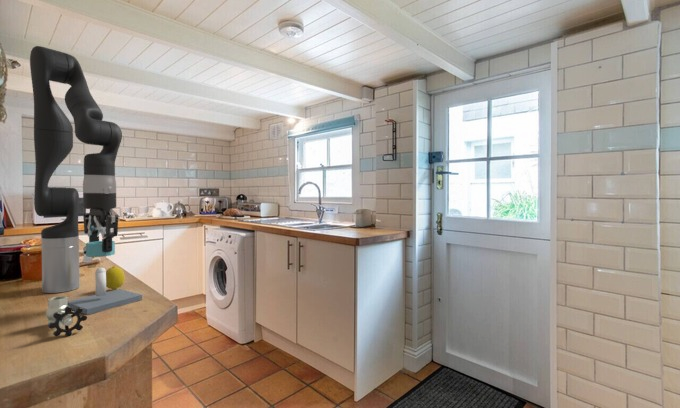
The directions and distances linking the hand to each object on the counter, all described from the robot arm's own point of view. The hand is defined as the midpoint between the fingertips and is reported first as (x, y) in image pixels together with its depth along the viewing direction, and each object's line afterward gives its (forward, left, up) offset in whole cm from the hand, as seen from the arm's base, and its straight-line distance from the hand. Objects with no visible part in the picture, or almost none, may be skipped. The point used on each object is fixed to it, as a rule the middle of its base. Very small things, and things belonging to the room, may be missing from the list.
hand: (100, 250), depth 92 cm
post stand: (0, 0, -15) cm, 15 cm away
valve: (+11, -13, -16) cm, 23 cm away
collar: (0, 0, -1) cm, 1 cm away
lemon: (-11, +9, -16) cm, 21 cm away
